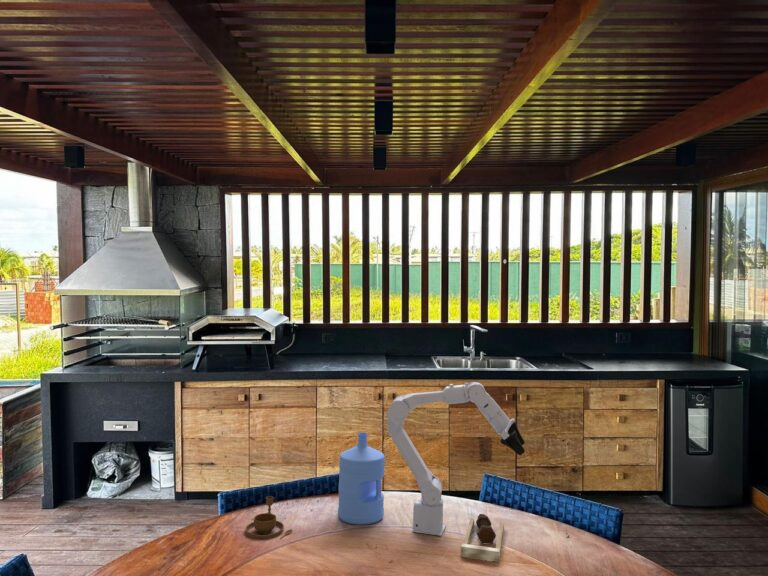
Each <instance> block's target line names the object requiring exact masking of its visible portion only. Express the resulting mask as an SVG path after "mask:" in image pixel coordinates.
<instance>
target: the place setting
mask: <svg viewBox="0 0 768 576" xmlns="http://www.w3.org/2000/svg"><path fill="white" fill-rule="evenodd" d="M265 504H266V506H267V507H268V509H267V511H268V512H264V513H259V514H256V515H255V516H254V517H253V519H252V522H251V523H248V524H247V525H246V526H245V533H246V535H247V536H249V538H252V539H256V540H257V539H258V540H266V539H272V538H275V537H278V536H279V535H281V534H282V533H283V532H284V529H285V525H284V524H283V522H281V521H278V520H277V515H276V514H273V513H272V512H271V511H272V508H271V506H273V505H274V496H272V495H268V496H266V497H265ZM276 526H277V527H278V528H279V529H280V530H278V531H276V532H273V533H271V532H272V531H273V530H274V528H276ZM253 528H254V529H255V530H256V531H257V532H258V533H260V534H254V533H252V532H250V530H251V529H253ZM269 533H270V534H269ZM292 533H293V529H292V528H291V529H288V530H286V531H285V532H284V534H283V535H282V536H281V537H280V538H279V540H282V539H283V538H285V537H286V536H289V535H291V534H292Z"/></svg>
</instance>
